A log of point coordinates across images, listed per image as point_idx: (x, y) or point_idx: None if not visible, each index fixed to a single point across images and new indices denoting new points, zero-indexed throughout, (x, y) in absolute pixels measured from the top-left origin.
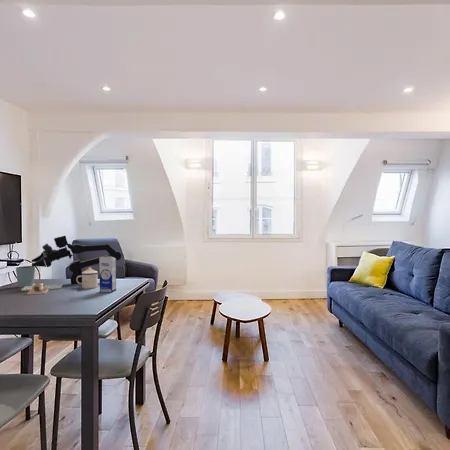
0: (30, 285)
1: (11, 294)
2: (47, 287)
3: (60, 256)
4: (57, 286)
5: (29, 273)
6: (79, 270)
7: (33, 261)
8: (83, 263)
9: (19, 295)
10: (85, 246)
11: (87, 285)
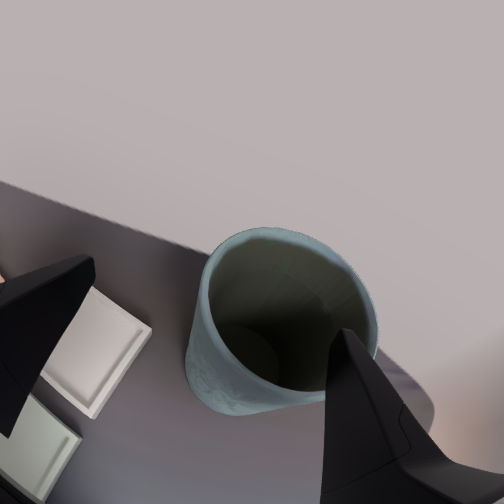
0: (187, 376)
1: (59, 227)
2: (34, 417)
3: None
4: (23, 472)
5: (195, 337)
6: None
7: (331, 362)
8: None
9: (10, 236)
10: None
11: None
